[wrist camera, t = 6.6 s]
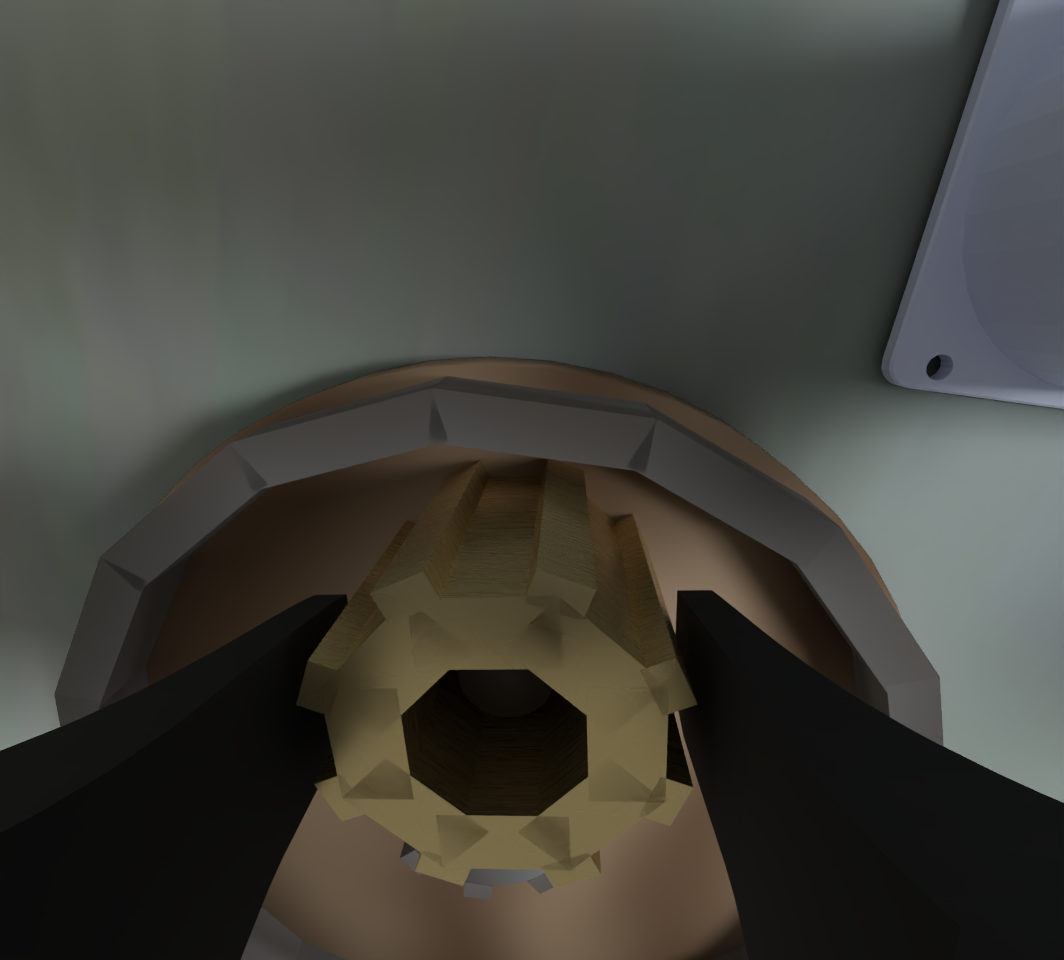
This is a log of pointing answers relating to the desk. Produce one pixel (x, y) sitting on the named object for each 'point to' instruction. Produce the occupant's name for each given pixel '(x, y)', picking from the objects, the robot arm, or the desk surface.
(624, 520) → the planet gear
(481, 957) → the gear carrier
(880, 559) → the desk surface
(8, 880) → the robot arm
